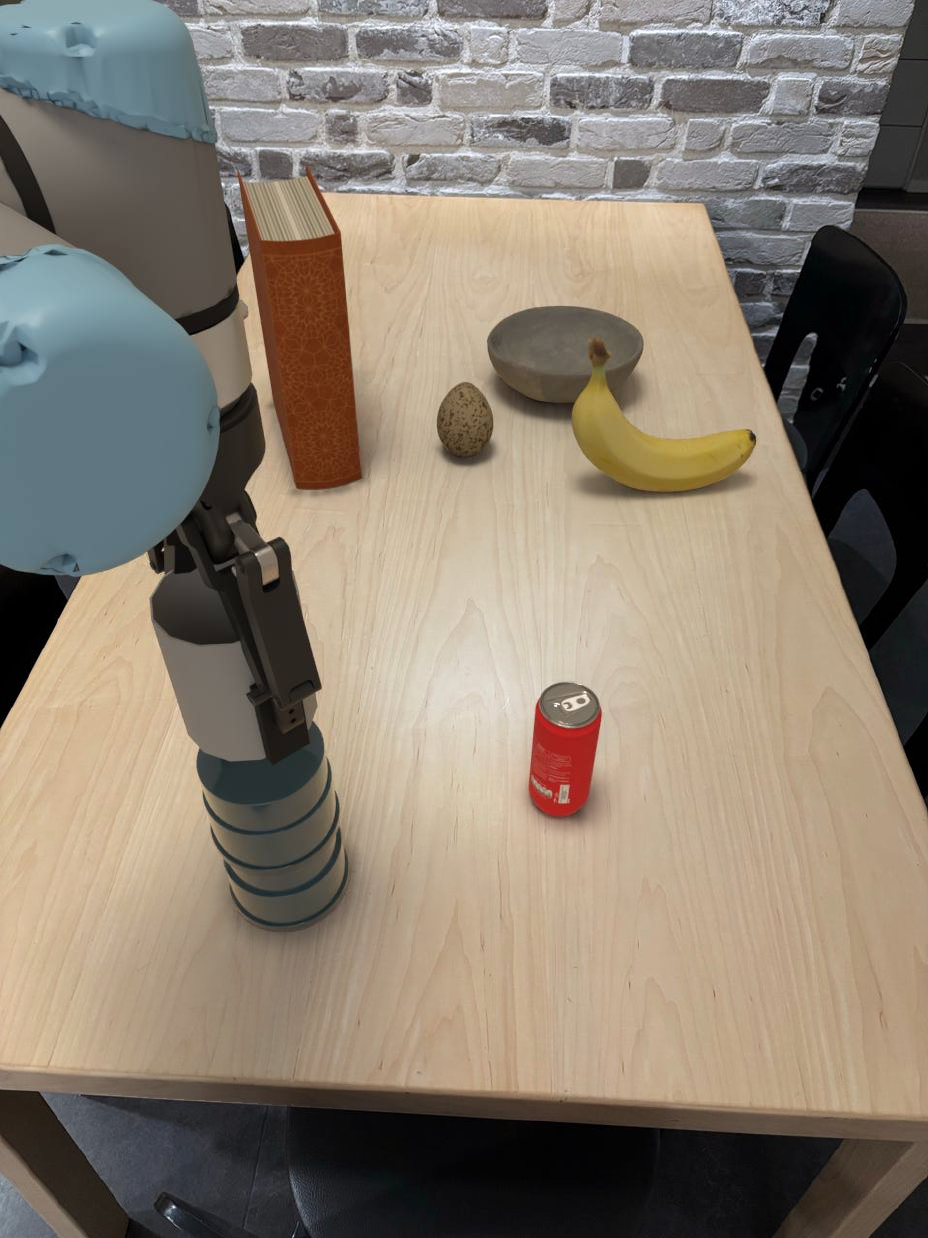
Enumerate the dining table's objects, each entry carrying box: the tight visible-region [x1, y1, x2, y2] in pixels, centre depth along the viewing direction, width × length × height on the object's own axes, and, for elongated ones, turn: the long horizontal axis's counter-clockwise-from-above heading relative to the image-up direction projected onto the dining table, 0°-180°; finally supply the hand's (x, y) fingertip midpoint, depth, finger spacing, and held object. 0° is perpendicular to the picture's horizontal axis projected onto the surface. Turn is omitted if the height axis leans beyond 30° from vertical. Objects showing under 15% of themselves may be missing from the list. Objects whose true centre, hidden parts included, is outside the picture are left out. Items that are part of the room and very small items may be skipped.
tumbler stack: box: [195, 720, 350, 933], centre depth 67 cm, size 9×9×16 cm
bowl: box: [486, 305, 645, 404], centre depth 127 cm, size 21×21×8 cm
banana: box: [571, 337, 757, 493], centre depth 105 cm, size 23×6×20 cm, turn 96°
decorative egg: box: [436, 381, 494, 458], centre depth 114 cm, size 7×7×10 cm
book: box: [236, 164, 363, 490], centre depth 109 cm, size 23×8×30 cm, turn 16°
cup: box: [148, 558, 318, 761], centre depth 55 cm, size 8×8×10 cm
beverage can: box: [528, 681, 603, 818], centre depth 75 cm, size 5×5×12 cm
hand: (250, 706), depth 59 cm, fingers closed on cup, 8 cm apart
